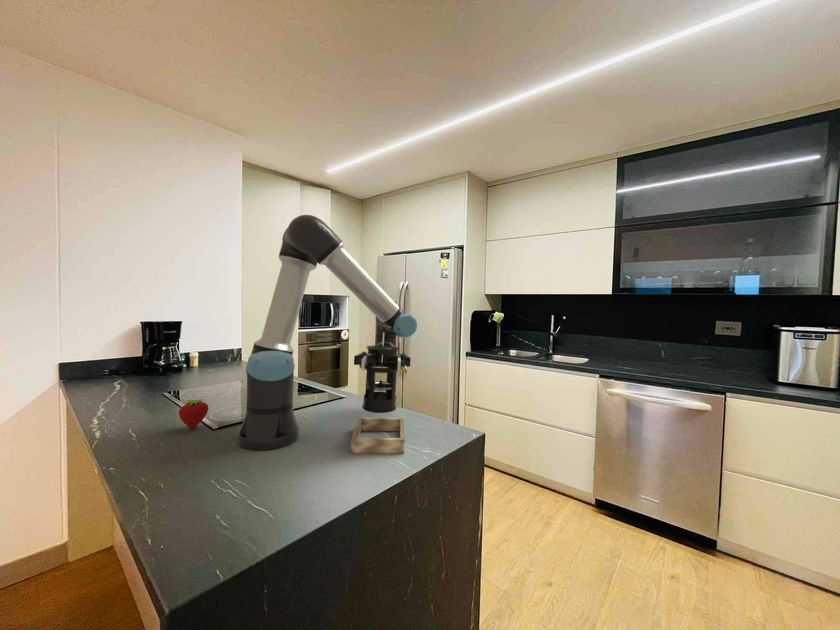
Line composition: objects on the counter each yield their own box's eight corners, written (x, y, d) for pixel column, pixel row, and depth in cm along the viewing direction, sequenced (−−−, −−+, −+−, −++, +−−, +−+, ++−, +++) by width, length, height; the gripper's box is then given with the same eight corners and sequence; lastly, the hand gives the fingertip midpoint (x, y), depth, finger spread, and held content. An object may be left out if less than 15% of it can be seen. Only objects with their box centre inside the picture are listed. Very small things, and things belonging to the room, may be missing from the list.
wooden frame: (350, 452, 85) (351, 439, 85) (358, 429, 102) (358, 417, 102) (404, 453, 86) (404, 439, 86) (402, 429, 103) (403, 418, 103)
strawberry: (212, 427, 99) (213, 393, 99) (184, 435, 93) (185, 399, 93) (201, 423, 102) (202, 390, 102) (173, 430, 96) (174, 395, 95)
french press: (382, 416, 87) (387, 327, 86) (353, 409, 91) (358, 324, 90) (405, 405, 97) (410, 326, 96) (378, 399, 101) (383, 323, 101)
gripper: (416, 366, 112) (421, 380, 90) (351, 364, 111) (339, 378, 88) (417, 343, 112) (422, 353, 90) (351, 341, 111) (340, 350, 88)
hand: (381, 365), depth 89 cm, fingers closed on french press, 9 cm apart
